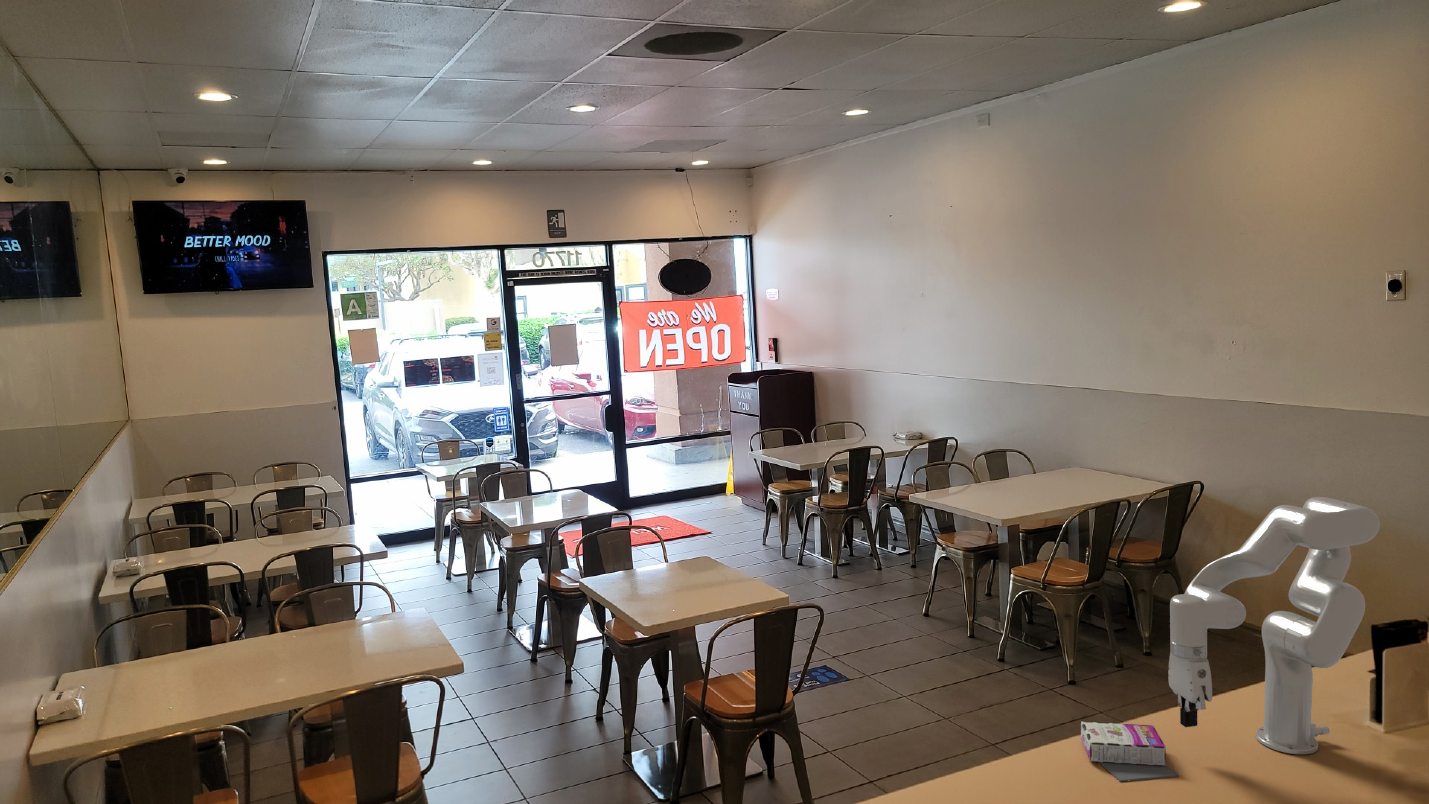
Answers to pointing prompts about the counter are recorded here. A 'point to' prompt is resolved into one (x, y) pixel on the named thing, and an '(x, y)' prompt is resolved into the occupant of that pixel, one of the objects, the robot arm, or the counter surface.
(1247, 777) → the counter surface
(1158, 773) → the rubber mat
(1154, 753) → the candy bar box
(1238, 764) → the counter surface
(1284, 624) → the robot arm
